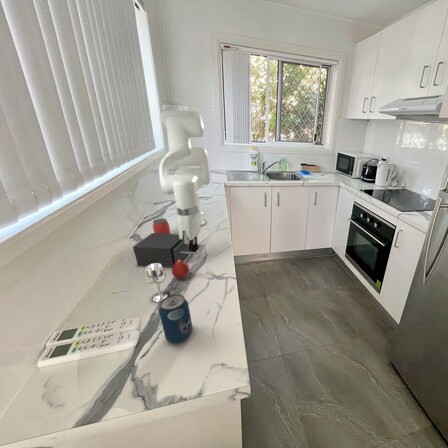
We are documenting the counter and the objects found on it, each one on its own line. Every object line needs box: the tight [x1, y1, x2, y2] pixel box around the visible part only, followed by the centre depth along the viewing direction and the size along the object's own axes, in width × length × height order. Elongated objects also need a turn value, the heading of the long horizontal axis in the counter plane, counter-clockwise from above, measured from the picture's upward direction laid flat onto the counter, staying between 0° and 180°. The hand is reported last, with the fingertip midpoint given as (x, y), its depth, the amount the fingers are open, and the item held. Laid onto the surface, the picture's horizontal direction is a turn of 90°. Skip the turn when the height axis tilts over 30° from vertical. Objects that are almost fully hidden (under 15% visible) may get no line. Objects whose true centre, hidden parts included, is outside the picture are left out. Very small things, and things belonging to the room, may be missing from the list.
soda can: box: [158, 293, 194, 345], centre depth 66 cm, size 7×7×12 cm
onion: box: [171, 260, 190, 279], centre depth 91 cm, size 6×6×8 cm
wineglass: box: [144, 263, 169, 303], centre depth 80 cm, size 6×6×12 cm
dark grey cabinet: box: [132, 232, 184, 268], centre depth 103 cm, size 15×13×9 cm
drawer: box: [171, 240, 205, 263], centre depth 103 cm, size 21×12×7 cm, turn 88°
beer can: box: [152, 218, 172, 234], centre depth 114 cm, size 7×7×12 cm
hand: (194, 251), depth 102 cm, fingers closed
